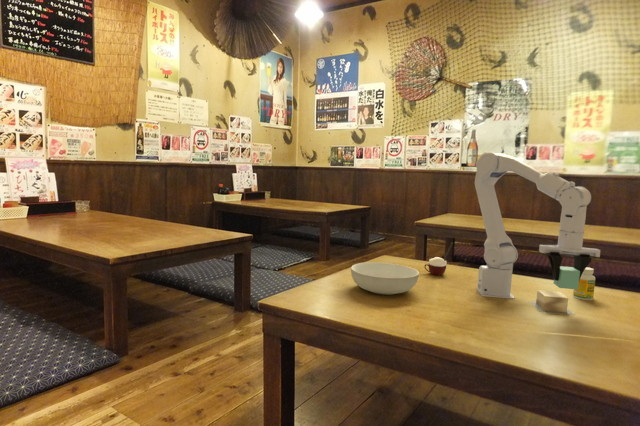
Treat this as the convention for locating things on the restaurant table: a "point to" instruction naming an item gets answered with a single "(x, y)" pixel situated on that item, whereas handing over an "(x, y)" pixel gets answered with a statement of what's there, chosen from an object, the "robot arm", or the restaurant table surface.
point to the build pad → (549, 311)
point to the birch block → (552, 301)
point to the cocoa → (438, 264)
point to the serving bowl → (384, 277)
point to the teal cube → (568, 278)
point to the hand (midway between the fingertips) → (565, 280)
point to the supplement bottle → (585, 285)
